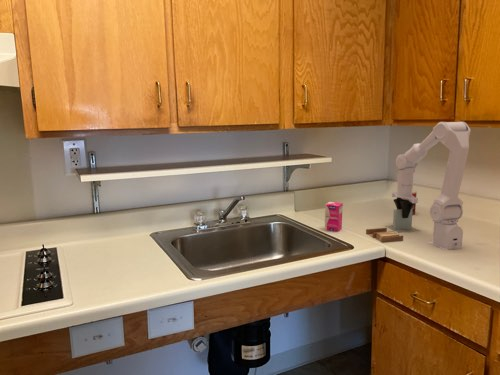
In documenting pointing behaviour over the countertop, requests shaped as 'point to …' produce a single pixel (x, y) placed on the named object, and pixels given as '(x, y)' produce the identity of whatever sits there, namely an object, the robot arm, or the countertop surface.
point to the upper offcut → (387, 234)
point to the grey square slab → (401, 220)
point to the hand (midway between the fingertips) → (403, 217)
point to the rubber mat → (403, 229)
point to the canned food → (415, 203)
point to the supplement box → (333, 216)
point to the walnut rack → (383, 239)
